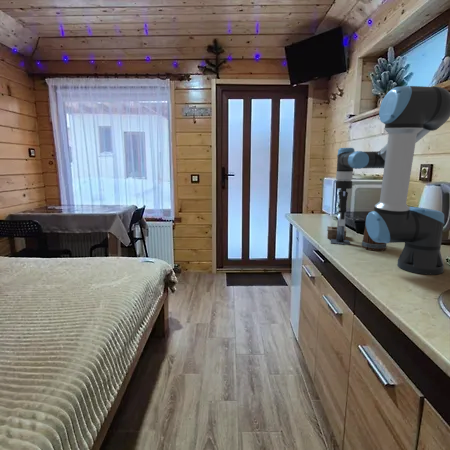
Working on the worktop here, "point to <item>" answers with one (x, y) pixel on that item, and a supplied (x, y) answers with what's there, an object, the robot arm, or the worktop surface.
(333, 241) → the mat
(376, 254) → the worktop surface
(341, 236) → the peg
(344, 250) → the worktop surface
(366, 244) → the mug
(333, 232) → the block
